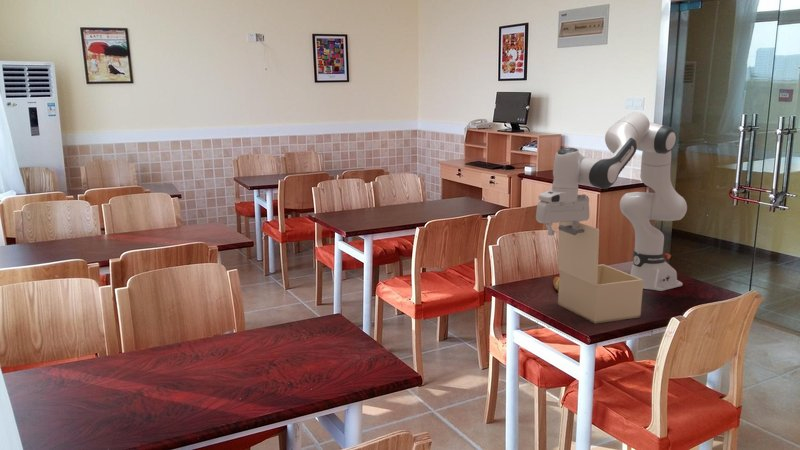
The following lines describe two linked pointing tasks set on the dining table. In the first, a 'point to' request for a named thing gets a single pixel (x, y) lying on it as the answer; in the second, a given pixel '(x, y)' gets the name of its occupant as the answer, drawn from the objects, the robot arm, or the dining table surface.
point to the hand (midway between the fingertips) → (561, 234)
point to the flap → (579, 251)
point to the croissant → (556, 283)
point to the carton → (602, 295)
